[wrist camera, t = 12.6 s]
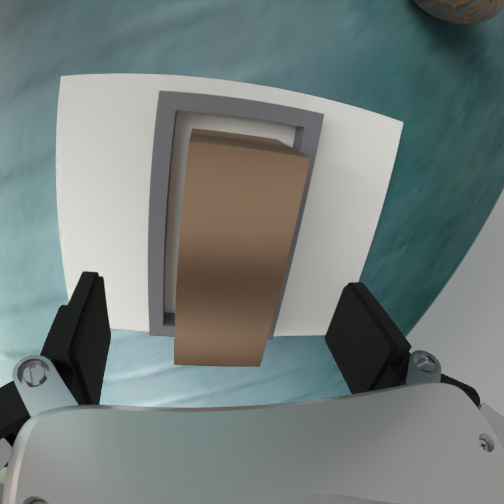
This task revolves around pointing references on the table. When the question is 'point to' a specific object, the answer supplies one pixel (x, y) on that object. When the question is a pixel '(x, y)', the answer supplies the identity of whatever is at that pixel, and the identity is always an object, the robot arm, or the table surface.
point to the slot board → (172, 185)
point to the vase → (461, 10)
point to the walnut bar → (233, 244)
